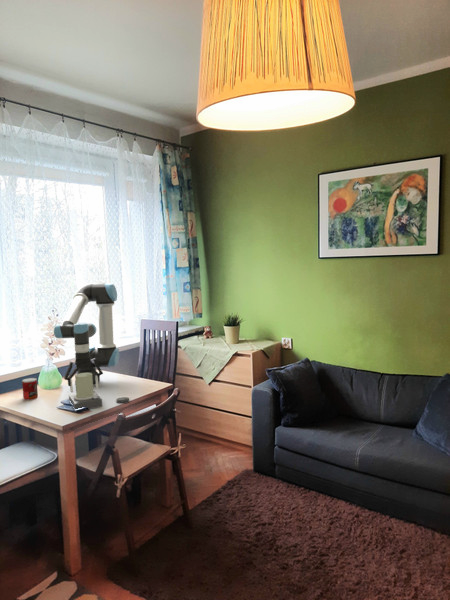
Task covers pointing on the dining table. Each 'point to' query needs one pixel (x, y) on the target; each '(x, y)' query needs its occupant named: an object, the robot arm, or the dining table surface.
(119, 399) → the lens cap
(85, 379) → the can
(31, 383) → the canned food
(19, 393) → the dining table surface
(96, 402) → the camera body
